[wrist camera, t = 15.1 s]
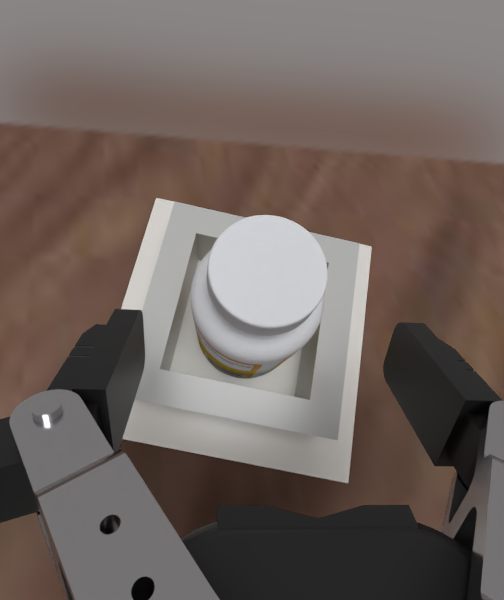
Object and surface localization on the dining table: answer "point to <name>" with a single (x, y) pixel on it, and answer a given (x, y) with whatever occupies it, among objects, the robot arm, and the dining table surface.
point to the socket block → (244, 391)
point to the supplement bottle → (258, 295)
